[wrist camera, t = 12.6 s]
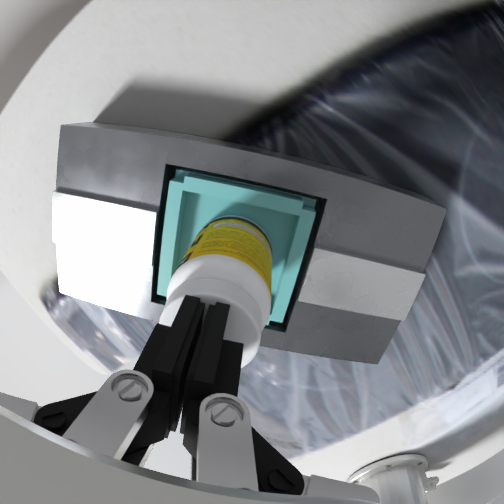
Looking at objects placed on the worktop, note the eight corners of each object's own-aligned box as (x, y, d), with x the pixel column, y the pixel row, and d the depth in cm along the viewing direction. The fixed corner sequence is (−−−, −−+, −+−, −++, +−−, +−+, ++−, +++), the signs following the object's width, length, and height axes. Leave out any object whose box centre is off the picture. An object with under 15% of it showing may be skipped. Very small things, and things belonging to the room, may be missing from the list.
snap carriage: (312, 192, 20) (319, 204, 17) (280, 302, 23) (281, 328, 20) (185, 164, 20) (170, 172, 17) (169, 277, 23) (155, 299, 20)
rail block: (420, 194, 20) (450, 211, 16) (365, 332, 25) (378, 367, 21) (92, 122, 20) (57, 125, 15) (84, 269, 24) (57, 294, 20)
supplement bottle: (200, 206, 18) (150, 269, 11) (280, 222, 19) (285, 297, 11) (191, 278, 20) (149, 367, 13) (263, 292, 20) (257, 390, 13)
